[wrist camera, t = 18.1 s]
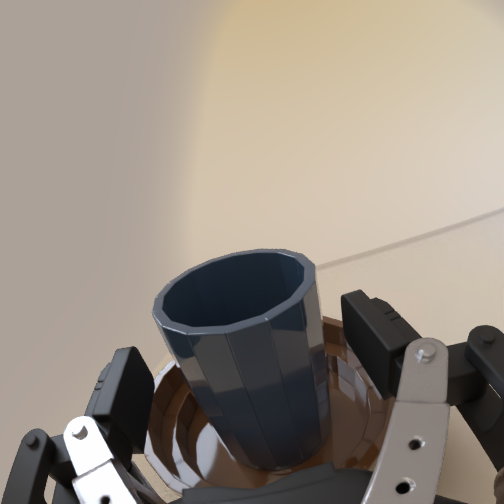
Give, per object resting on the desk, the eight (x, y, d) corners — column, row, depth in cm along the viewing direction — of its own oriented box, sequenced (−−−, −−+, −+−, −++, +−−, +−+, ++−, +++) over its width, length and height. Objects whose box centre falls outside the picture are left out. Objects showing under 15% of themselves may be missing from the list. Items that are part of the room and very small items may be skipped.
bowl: (138, 504, 11) (99, 475, 9) (204, 358, 24) (188, 321, 22) (402, 521, 7) (422, 500, 6) (376, 344, 20) (376, 301, 19)
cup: (209, 465, 13) (123, 334, 9) (235, 386, 19) (188, 259, 16) (330, 470, 11) (316, 325, 8) (331, 381, 17) (314, 240, 14)
